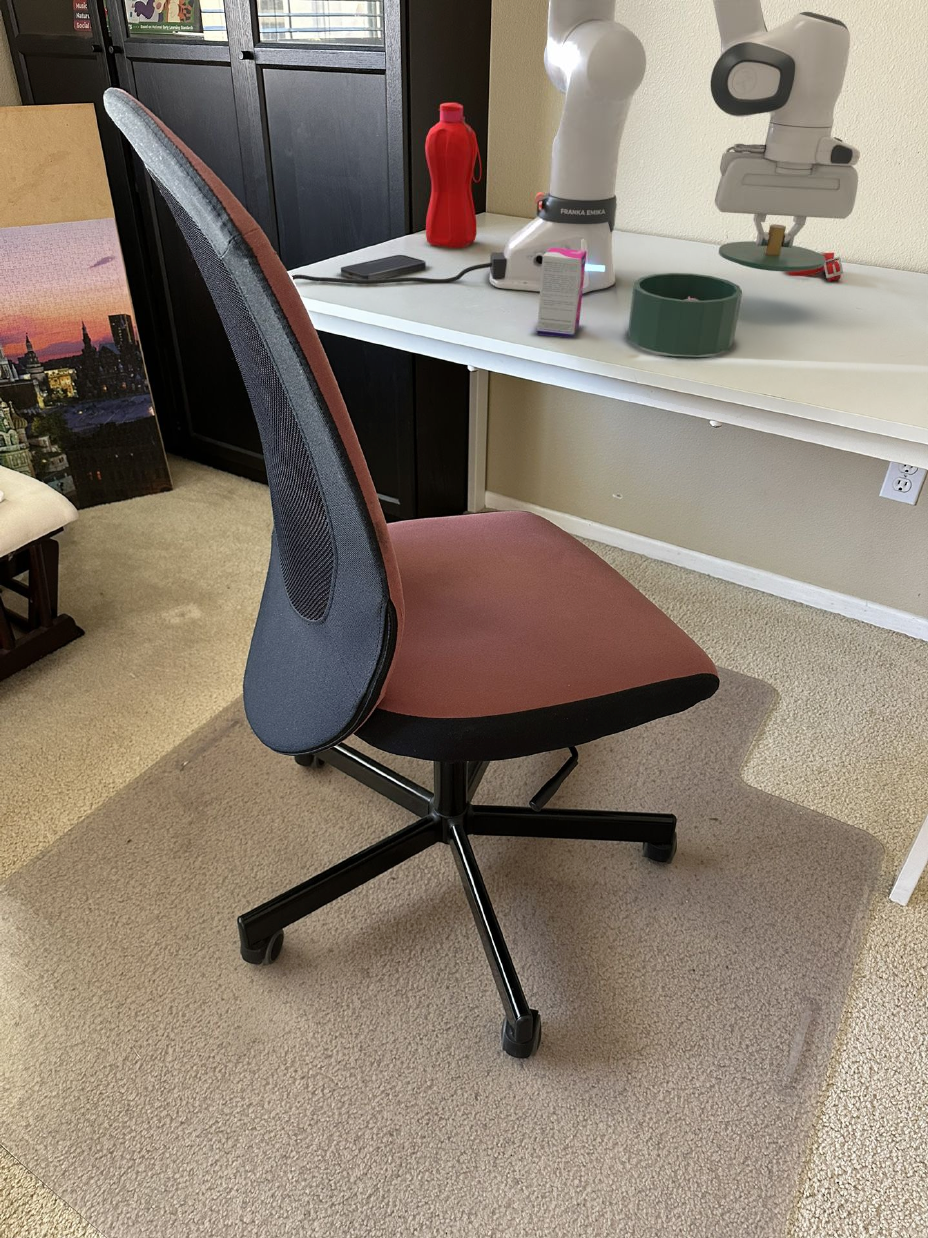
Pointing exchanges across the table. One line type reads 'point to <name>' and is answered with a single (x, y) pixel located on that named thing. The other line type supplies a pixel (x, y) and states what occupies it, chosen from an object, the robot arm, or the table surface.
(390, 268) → the phone
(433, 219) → the water bottle
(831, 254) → the tracker holder
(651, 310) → the tin
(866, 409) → the table surface
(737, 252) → the tin lid
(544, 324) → the supplement box
